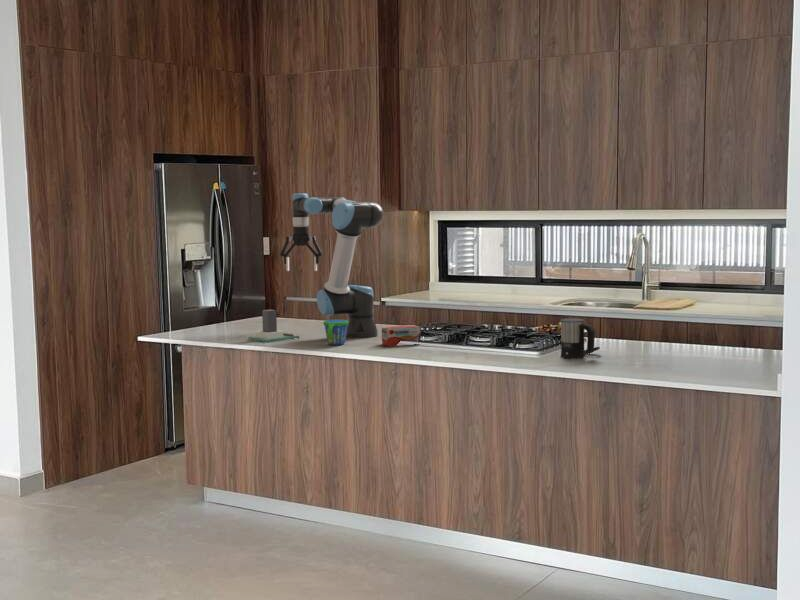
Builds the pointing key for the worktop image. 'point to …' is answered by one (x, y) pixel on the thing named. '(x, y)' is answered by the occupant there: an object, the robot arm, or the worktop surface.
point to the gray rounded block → (269, 321)
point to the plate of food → (551, 327)
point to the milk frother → (576, 338)
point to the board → (272, 336)
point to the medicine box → (399, 334)
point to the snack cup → (336, 331)
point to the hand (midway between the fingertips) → (301, 270)
